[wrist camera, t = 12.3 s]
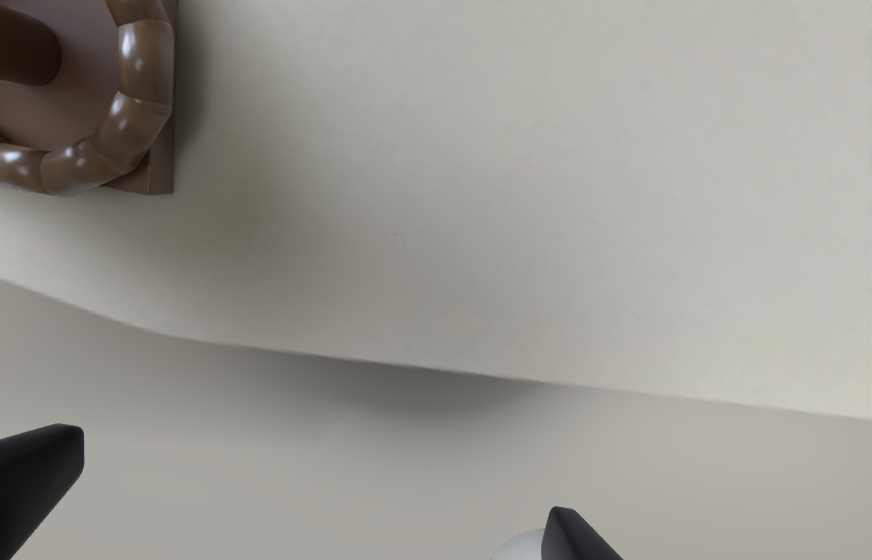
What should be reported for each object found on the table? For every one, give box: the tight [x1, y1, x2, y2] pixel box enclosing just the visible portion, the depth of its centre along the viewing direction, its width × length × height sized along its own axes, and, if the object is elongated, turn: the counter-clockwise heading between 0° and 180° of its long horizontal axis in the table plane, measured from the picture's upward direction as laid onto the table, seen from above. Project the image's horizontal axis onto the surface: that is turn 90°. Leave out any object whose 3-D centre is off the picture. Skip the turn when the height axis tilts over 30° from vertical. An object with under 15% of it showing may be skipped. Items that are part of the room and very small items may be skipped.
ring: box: [0, 0, 174, 197], centre depth 15 cm, size 10×10×2 cm
